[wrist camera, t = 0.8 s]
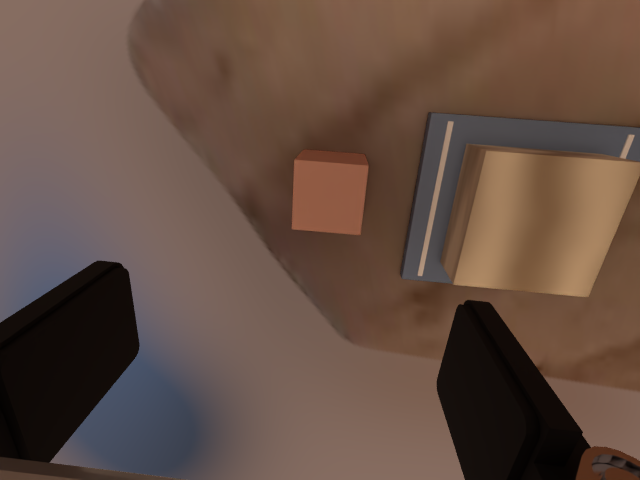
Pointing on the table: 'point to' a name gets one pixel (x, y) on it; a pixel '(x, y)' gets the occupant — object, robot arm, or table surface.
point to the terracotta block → (329, 191)
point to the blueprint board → (446, 160)
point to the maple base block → (535, 218)
